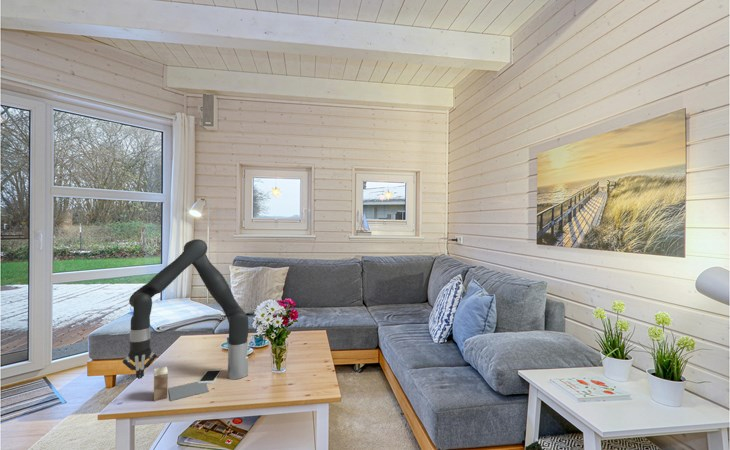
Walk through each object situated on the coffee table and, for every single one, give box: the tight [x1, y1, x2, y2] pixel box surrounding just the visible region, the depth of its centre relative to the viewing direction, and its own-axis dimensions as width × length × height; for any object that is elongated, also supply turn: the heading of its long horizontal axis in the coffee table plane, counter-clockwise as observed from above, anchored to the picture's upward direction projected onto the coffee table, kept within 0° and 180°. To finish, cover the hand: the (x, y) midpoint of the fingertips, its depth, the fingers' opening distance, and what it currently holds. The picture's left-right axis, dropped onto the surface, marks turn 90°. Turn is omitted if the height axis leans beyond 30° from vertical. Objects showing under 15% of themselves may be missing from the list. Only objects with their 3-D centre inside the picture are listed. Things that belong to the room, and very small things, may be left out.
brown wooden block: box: [153, 366, 169, 402], centre depth 150 cm, size 5×6×12 cm
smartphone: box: [197, 368, 223, 385], centre depth 171 cm, size 7×15×1 cm, turn 7°
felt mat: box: [168, 380, 210, 402], centre depth 156 cm, size 16×13×1 cm
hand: (139, 377), depth 146 cm, fingers closed
